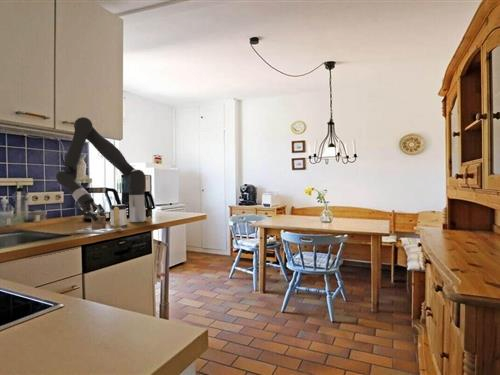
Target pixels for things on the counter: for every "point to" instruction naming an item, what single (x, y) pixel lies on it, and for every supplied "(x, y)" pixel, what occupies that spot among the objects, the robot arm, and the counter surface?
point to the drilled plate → (95, 231)
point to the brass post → (116, 219)
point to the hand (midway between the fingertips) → (101, 219)
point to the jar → (121, 214)
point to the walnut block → (99, 223)
